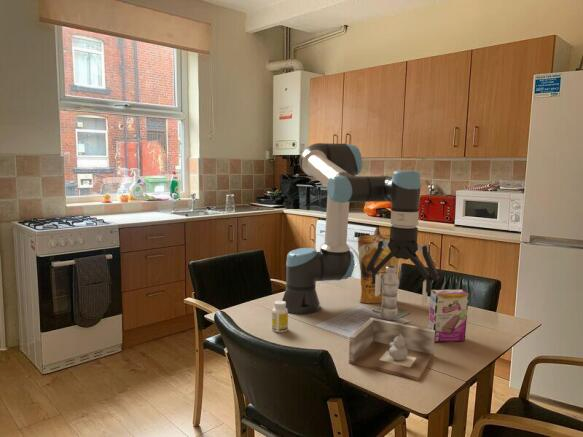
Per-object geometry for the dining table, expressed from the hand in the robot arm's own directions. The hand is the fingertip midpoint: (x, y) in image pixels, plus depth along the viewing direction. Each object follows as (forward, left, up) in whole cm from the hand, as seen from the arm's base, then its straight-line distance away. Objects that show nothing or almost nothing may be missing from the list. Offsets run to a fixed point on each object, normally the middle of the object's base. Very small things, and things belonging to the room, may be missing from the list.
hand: (400, 299), depth 125 cm
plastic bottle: (-13, +33, -19) cm, 40 cm away
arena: (-2, +1, -19) cm, 19 cm away
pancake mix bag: (-24, +52, -19) cm, 60 cm away
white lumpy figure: (0, 0, -18) cm, 18 cm away
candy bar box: (+9, +25, -19) cm, 32 cm away
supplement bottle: (-42, +3, -19) cm, 46 cm away
